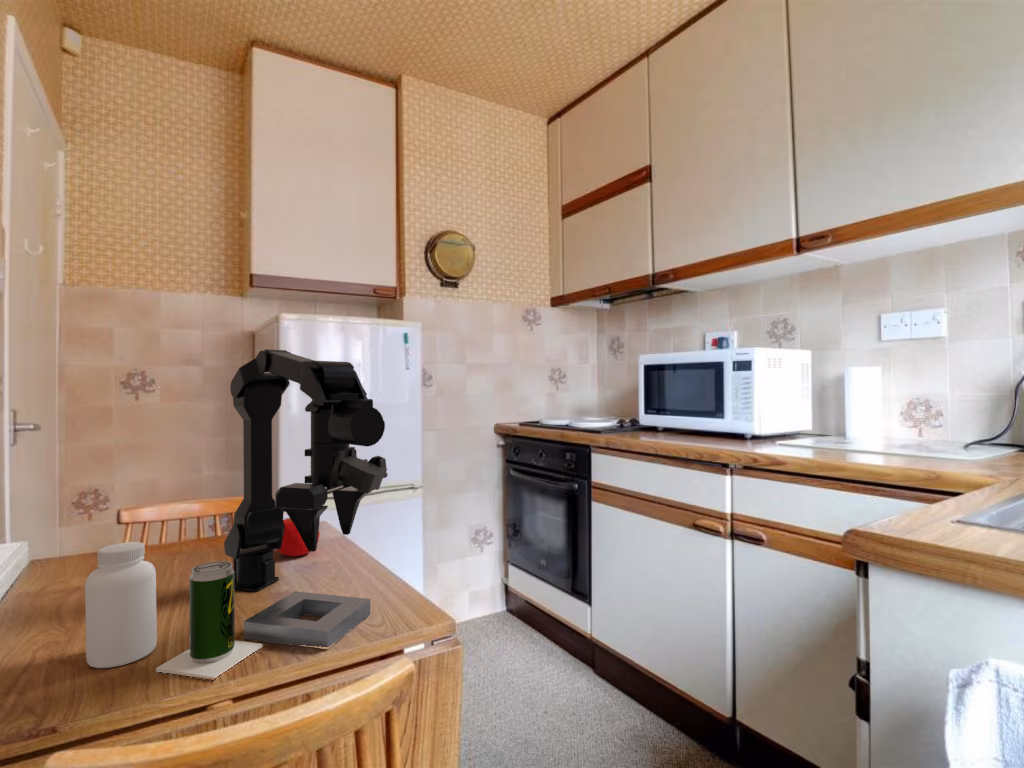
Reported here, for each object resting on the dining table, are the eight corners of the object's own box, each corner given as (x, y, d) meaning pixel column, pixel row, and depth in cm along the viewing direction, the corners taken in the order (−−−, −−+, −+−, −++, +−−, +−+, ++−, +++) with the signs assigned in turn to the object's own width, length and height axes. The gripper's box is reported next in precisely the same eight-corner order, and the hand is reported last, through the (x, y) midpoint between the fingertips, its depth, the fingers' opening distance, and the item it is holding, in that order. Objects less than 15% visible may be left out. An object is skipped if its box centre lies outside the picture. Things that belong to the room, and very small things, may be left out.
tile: (155, 672, 70) (155, 668, 70) (210, 640, 79) (210, 636, 79) (213, 680, 68) (213, 676, 68) (262, 647, 77) (262, 643, 77)
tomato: (310, 561, 115) (310, 521, 115) (262, 561, 115) (262, 521, 115) (326, 548, 124) (325, 511, 124) (281, 548, 124) (281, 511, 124)
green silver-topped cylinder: (189, 669, 70) (189, 576, 70) (189, 651, 75) (189, 564, 75) (236, 658, 73) (236, 569, 73) (232, 642, 77) (233, 558, 77)
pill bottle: (110, 642, 78) (110, 539, 78) (168, 640, 79) (168, 538, 79) (70, 671, 70) (70, 556, 70) (135, 668, 71) (135, 554, 71)
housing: (243, 639, 79) (243, 621, 79) (295, 606, 91) (295, 591, 91) (328, 650, 76) (328, 631, 76) (370, 614, 88) (370, 598, 88)
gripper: (343, 450, 73) (343, 566, 73) (404, 437, 91) (404, 530, 91) (272, 448, 75) (272, 559, 75) (345, 435, 94) (345, 525, 93)
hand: (330, 542), depth 84 cm, fingers open, 9 cm apart
